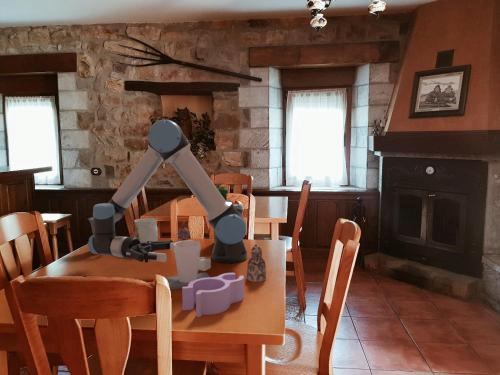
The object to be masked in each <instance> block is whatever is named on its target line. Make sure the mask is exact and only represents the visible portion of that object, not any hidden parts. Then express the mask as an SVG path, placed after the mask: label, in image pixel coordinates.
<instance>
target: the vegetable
mask: <svg viewBox="0 0 500 375" xmlns="http://www.w3.org/2000/svg"><path fill="white" fill-rule="evenodd" d="M190 234H191V231H190V229H188V228H187V227H185V221H183V222H182V223H181V228H180V229H178V231H177V237H178V239H180V240H181V241H185V240H187V239H188V238H189V237H190Z"/></svg>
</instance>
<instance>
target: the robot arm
mask: <svg viewBox="0 0 500 375" xmlns="http://www.w3.org/2000/svg"><path fill="white" fill-rule="evenodd" d="M147 137H148V142H149V143H148V144H147V150H146V151H145V152H144V154H143V155H142V157H141V158H140V159H139V160H138V162H137V163H136V165H135V166H134V167H133V169H132V170H131V172H130V173H129V174H128V175H127V177H126V178H125V180H124V181H123V182H122V184H121V185H120V186H119V188H118V189H117V190H116V192H115V193H114V194H113V195H112V197H111V198H110V200H109V201H108V202H107V203H106V202H105V203H104V202H103V203H97V204H94V206H93V208H92V209H93V210H92V211H93V212H92V217H93V219H94V234H91V236H90V237H89V238H88V242H87V248H88V250H89V252H91V253H92V254H95V255H99V256H110V257H118V258H119V259H122V258H127V259H133V260H136V261H138V262H140V263H143V262H144V263H145V264H146V263H149V261H153V262H154V261H155V262H159V263H160V262H162V263H167V261H168V260H167V259H168V258H167V253H162V252H155V251H161V250H162V251H164V250H166V251H167V250H169V251H174V246H173V244H174V243H175V242H174V241H173V240H171V239H170V240H157V241H147V243H146V242H143V243H140V241H139V240H138V239H137V238H134V237H129V236H119V235H116V234H115V223H116V222H117V221H120V220H121V219H122V218H123V216H124V215H125V214H124V213H126V211H127V209H128V208H129V207H130V205H131V204H132V203H133V202H134V200H135V199H136V197H137V196H138V195H139V194H140V193H141V191H142V189H143V188H144V187H145V185H146V184H147V183H148V182H149V180H150V179H151V178H152V176H153V174H155V172H156V171H157V170H158V168H159V167H160V165H161V164H162V163H163V162H165V163H170V164H171V165H172V167H173V168H174V169H175V171H176V172H177V174H178V175H179V176H180V177H181V179H182V180H183V182H184V183H185V184H186V186H187V187H188V189H189V190H190V191H191V192H192V194H193V195H194V197H195V198H196V200H197V202H198V203H199V204H200V206H201V207H202V209H204V211H205V212H206V214H207V218H206V220H207V222H208V224H209V225H210V226H211V227H212V229H213V231H214V230H215V232H216V241H215V242H214V245H213V248H212V251H211V259H212V260H213V261H214V262H217V263H225V264H227V263H228V264H231V263H238V262H240V263H241V262H243V261H246V259H247V258H248V251H247V247H246V245H245V242H244V238H245V236H246V234H247V228H248V227H247V222H246V221H245V218H244V216H243V215H244V208H243V207H244V206H243V205H242V204H236V203H235V204H232V203H233V202H232V201H231V202H227V201H225V199H224V198H223V196H222V195H221V193H220V192H219V191H218V189H219V188H217V187H216V185H215V184H214V182H213V181H212V179H211V178H210V176H209V175H208V174H207V172H206V171H205V169H204V168H203V166H202V165H201V164H200V162H199V160H198V159H197V158H196V157H195V155H194V154H193V152H192V151H191V146H192V145H191V143H190V141H189V140H188V138H187V137H186V136H185V134H184V133H183V130H182V127H181V126H180V125H179V124H177V123H176V122H174V121H173V120H170V119H160V120H158V121H155V122H154V123H153V124H152V125H151V126H150V128H149V130H148V136H147ZM150 248H151V249H150Z"/></svg>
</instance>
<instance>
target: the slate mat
mask: <svg viewBox="0 0 500 375" xmlns="http://www.w3.org/2000/svg"><path fill="white" fill-rule="evenodd" d="M208 277H211V276H210V275H209V274H208V272H200V273H199V272H198V274H197V279H200V278H208ZM165 278H166V279H167V280H168V282H169V286H170V290H169V291H172V290H173V291H174V290H180V289H181V290H182V287H187V286H188V284H189V283H183V282H180V281H179V278H178V275H176V276H168V277H165Z"/></svg>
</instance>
